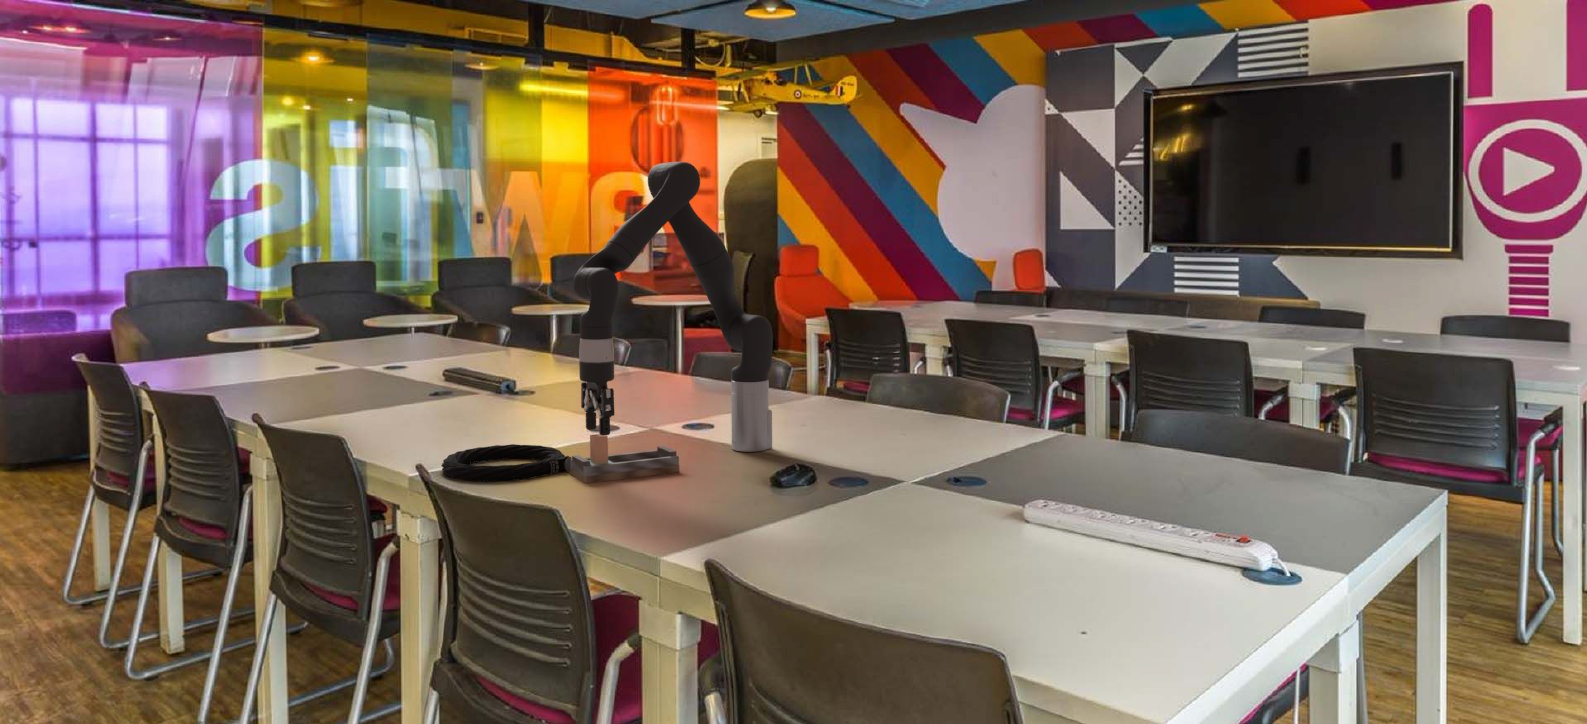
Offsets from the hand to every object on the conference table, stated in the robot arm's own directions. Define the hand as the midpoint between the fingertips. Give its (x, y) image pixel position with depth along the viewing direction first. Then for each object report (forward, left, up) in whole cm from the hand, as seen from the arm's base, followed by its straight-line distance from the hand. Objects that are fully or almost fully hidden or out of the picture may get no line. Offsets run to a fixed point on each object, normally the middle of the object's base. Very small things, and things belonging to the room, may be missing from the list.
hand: (597, 432), depth 253 cm
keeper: (0, 0, -8) cm, 8 cm away
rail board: (-6, 0, -10) cm, 12 cm away
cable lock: (+15, -18, -11) cm, 26 cm away
